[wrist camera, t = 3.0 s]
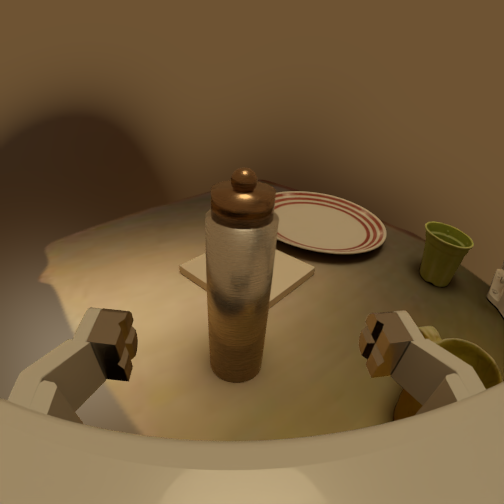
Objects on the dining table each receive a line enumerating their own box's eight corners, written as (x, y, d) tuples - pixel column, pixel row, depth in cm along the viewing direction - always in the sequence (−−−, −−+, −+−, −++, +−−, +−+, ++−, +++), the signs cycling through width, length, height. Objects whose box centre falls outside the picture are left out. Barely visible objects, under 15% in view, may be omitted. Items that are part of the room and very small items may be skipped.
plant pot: (426, 294, 40) (445, 246, 36) (402, 262, 49) (416, 219, 44) (464, 292, 41) (483, 249, 37) (439, 263, 49) (453, 223, 45)
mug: (493, 445, 16) (528, 374, 13) (400, 480, 18) (418, 420, 15) (456, 373, 27) (467, 304, 24) (380, 395, 29) (381, 326, 26)
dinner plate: (407, 265, 48) (412, 249, 47) (258, 267, 45) (259, 248, 43) (351, 206, 72) (354, 194, 70) (243, 202, 69) (244, 189, 67)
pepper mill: (234, 337, 32) (242, 156, 22) (271, 362, 29) (298, 170, 20) (199, 361, 29) (189, 166, 19) (237, 391, 26) (247, 183, 16)
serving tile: (244, 241, 52) (245, 235, 51) (313, 274, 44) (315, 267, 43) (179, 272, 42) (179, 265, 42) (252, 320, 35) (253, 313, 34)
